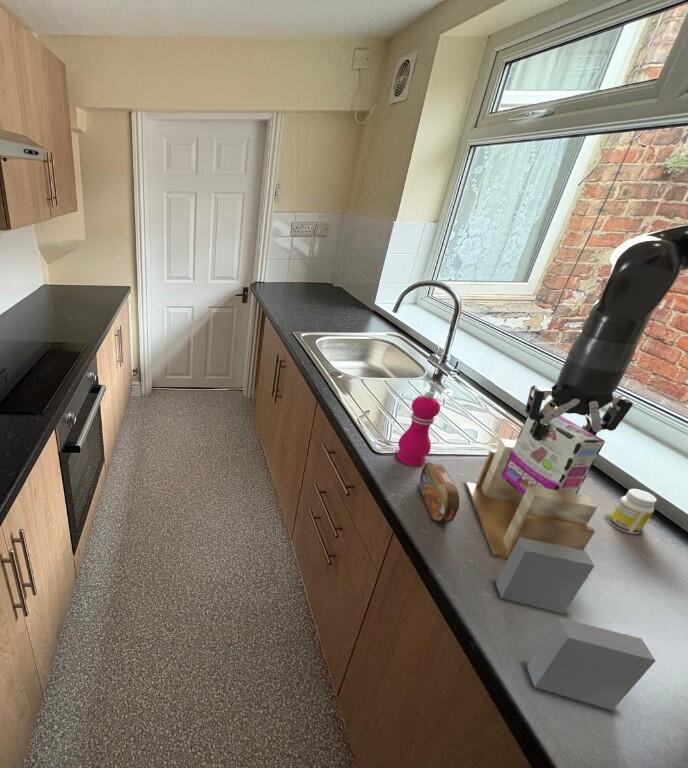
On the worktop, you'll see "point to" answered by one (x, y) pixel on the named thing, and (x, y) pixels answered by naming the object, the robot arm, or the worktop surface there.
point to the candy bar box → (552, 457)
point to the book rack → (527, 509)
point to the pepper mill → (418, 431)
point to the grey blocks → (571, 628)
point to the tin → (439, 492)
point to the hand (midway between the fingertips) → (557, 441)
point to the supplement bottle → (633, 511)
